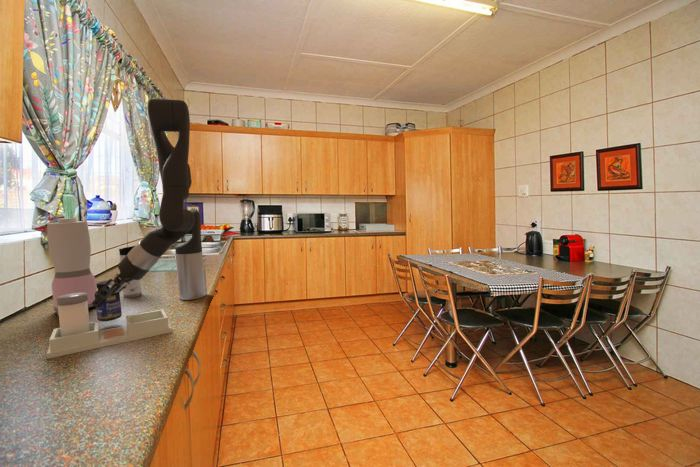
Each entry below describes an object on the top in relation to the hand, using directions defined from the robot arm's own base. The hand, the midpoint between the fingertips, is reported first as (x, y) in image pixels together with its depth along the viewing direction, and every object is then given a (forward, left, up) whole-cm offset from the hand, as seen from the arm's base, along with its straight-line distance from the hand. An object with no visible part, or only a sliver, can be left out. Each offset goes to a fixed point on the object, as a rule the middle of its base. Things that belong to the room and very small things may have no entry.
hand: (101, 301), depth 105 cm
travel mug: (-29, -25, -8) cm, 39 cm away
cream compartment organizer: (+6, +11, -8) cm, 15 cm away
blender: (-11, -29, -8) cm, 32 cm away
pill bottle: (-1, +1, -5) cm, 6 cm away
